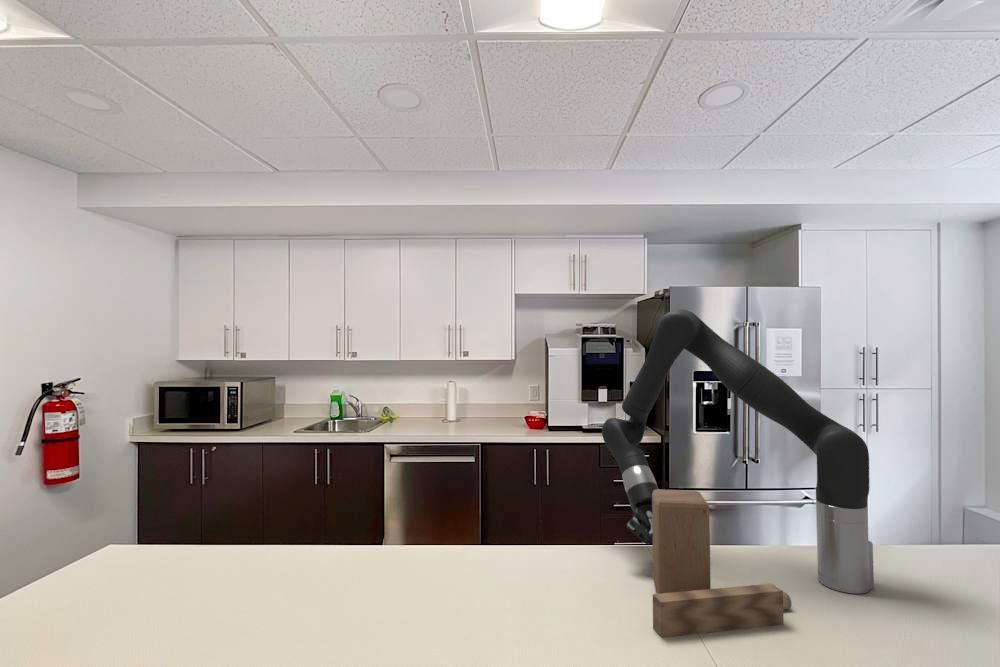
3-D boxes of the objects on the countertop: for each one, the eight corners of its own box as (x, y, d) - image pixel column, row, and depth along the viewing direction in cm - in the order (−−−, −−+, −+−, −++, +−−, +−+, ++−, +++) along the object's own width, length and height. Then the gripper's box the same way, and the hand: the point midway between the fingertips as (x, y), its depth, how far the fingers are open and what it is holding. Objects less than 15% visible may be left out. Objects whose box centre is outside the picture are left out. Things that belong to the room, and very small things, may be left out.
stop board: (772, 616, 97) (771, 583, 97) (783, 624, 94) (782, 590, 94) (653, 628, 93) (652, 594, 93) (661, 637, 90) (660, 602, 90)
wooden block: (712, 607, 100) (710, 503, 101) (658, 603, 102) (657, 500, 103) (701, 584, 110) (699, 489, 111) (652, 581, 112) (651, 487, 112)
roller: (785, 611, 100) (778, 594, 102) (793, 606, 98) (786, 589, 100) (739, 616, 99) (732, 599, 101) (746, 611, 96) (739, 594, 99)
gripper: (620, 481, 121) (643, 555, 108) (672, 479, 123) (701, 551, 111) (611, 498, 126) (633, 570, 114) (662, 495, 128) (688, 566, 116)
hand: (667, 560), depth 112 cm, fingers closed
